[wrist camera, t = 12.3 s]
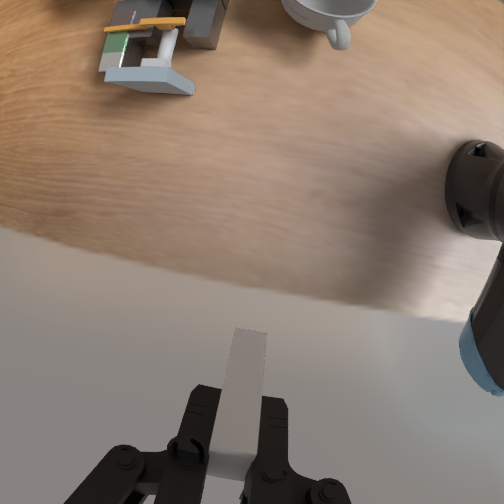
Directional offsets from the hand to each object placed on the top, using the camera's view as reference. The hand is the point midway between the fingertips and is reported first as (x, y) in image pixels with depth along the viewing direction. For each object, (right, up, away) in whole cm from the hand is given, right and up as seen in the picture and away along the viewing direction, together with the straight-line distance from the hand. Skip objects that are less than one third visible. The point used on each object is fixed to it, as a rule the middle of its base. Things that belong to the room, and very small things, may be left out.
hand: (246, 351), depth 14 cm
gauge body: (-10, +34, +15) cm, 38 cm away
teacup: (+9, +35, +13) cm, 39 cm away
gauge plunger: (-10, +29, +16) cm, 34 cm away
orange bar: (-12, +31, +10) cm, 35 cm away
